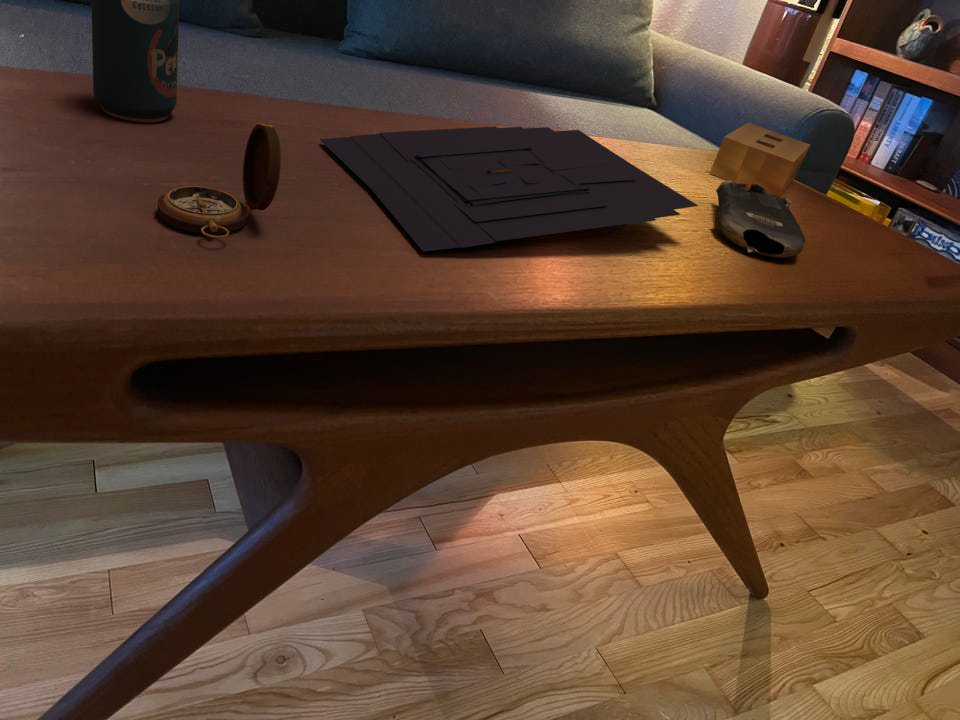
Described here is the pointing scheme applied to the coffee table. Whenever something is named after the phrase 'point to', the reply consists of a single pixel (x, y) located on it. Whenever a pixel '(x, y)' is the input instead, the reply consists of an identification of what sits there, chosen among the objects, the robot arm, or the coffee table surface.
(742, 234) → the electronic device
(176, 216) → the compass
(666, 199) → the papers
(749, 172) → the pen holder
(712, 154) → the coffee table surface
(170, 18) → the soda can
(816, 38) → the stylus
